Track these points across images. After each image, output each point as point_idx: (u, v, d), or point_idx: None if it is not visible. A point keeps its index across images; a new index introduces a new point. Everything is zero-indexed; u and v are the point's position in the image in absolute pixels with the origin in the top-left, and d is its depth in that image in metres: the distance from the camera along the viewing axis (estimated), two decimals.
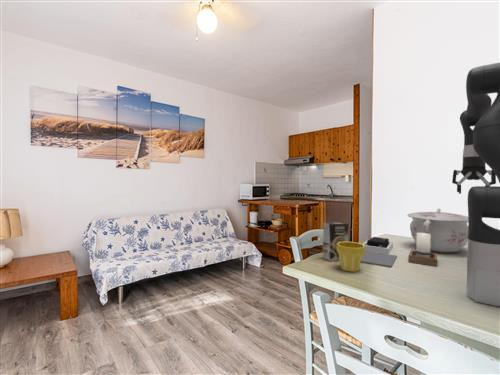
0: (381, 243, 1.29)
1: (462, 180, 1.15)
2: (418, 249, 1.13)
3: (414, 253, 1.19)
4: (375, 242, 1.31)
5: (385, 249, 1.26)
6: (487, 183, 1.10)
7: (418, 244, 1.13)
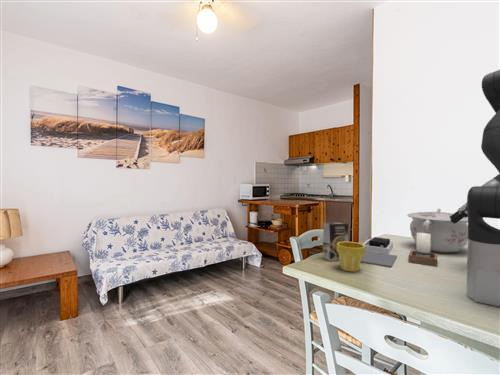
0: (383, 243, 1.28)
1: None
2: (418, 249, 1.13)
3: (414, 253, 1.19)
4: (377, 242, 1.30)
5: (385, 249, 1.26)
6: (460, 211, 1.03)
7: (418, 244, 1.13)
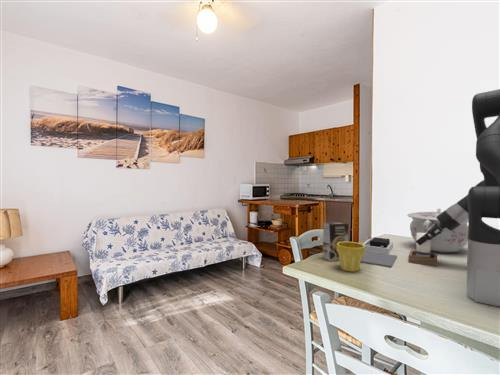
0: (384, 244, 1.28)
1: (427, 229, 1.15)
2: (418, 249, 1.13)
3: (414, 253, 1.19)
4: (378, 243, 1.30)
5: (385, 249, 1.26)
6: (424, 234, 1.11)
7: (418, 244, 1.13)
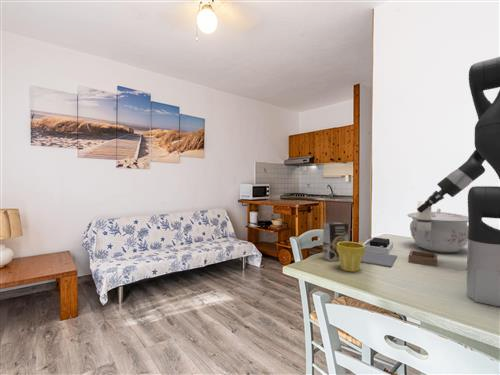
0: (384, 244, 1.28)
1: None
2: (419, 217, 1.13)
3: (414, 253, 1.19)
4: (378, 243, 1.29)
5: (385, 249, 1.26)
6: (425, 201, 1.11)
7: (419, 212, 1.13)
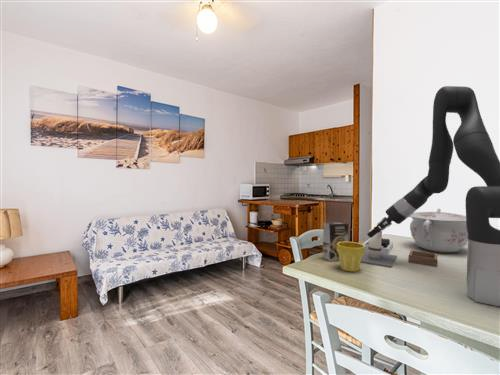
0: (384, 244, 1.27)
1: None
2: (369, 245, 1.17)
3: (414, 253, 1.19)
4: None
5: (385, 249, 1.26)
6: None
7: (370, 240, 1.17)
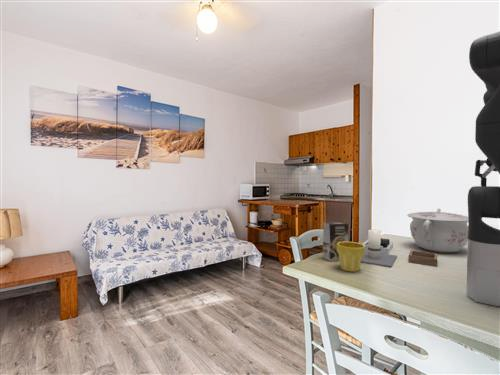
0: (384, 244, 1.27)
1: (488, 172, 0.96)
2: (369, 245, 1.17)
3: (414, 253, 1.19)
4: None
5: (385, 249, 1.26)
6: None
7: (369, 240, 1.17)
